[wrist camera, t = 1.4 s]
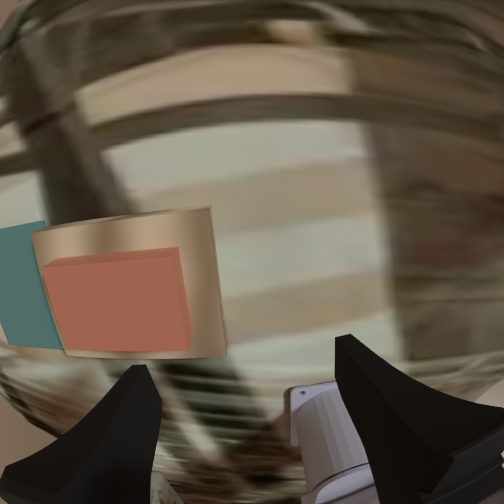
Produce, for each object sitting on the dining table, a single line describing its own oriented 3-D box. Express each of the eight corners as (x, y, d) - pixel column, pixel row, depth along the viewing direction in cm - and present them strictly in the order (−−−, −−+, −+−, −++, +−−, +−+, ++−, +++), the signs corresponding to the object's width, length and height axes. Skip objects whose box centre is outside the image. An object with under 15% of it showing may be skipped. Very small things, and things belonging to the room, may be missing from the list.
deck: (211, 205, 20) (207, 209, 18) (227, 341, 23) (226, 356, 21) (45, 227, 20) (30, 233, 18) (76, 343, 22) (66, 355, 21)
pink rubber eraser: (178, 246, 18) (171, 256, 16) (193, 333, 20) (188, 350, 18) (56, 258, 18) (41, 267, 16) (78, 335, 20) (67, 349, 18)
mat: (44, 220, 19) (41, 221, 19) (78, 348, 23) (77, 350, 22) (-23, 234, 19) (-25, 234, 19) (10, 342, 23) (9, 344, 22)
